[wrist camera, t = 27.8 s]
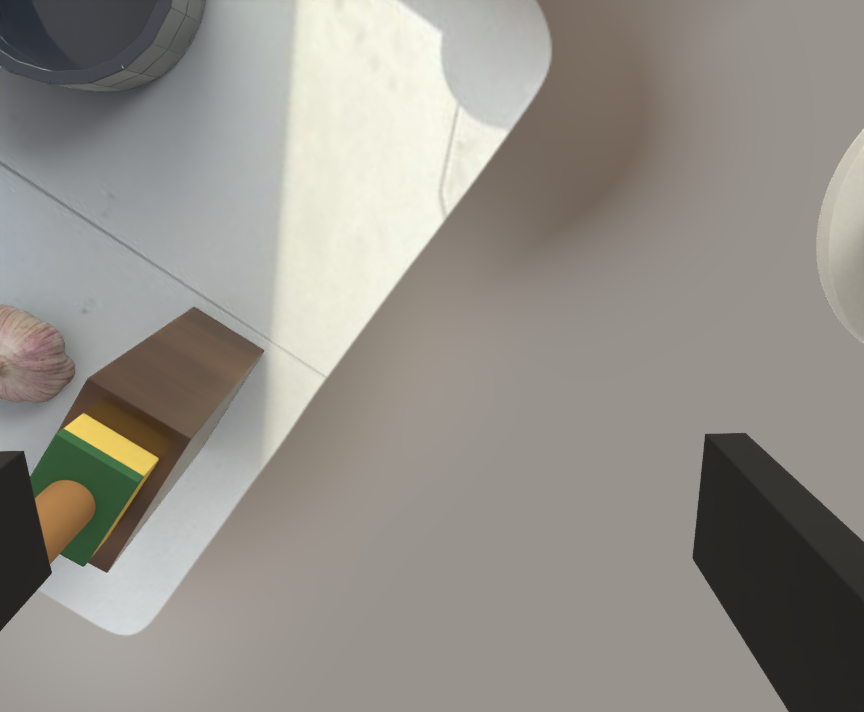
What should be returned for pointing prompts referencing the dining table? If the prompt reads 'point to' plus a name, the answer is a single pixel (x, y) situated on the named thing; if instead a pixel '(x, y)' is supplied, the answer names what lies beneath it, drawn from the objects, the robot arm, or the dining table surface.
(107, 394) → the stand
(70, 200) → the dining table surface
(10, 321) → the garlic bulb
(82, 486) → the sponge
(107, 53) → the bowl
